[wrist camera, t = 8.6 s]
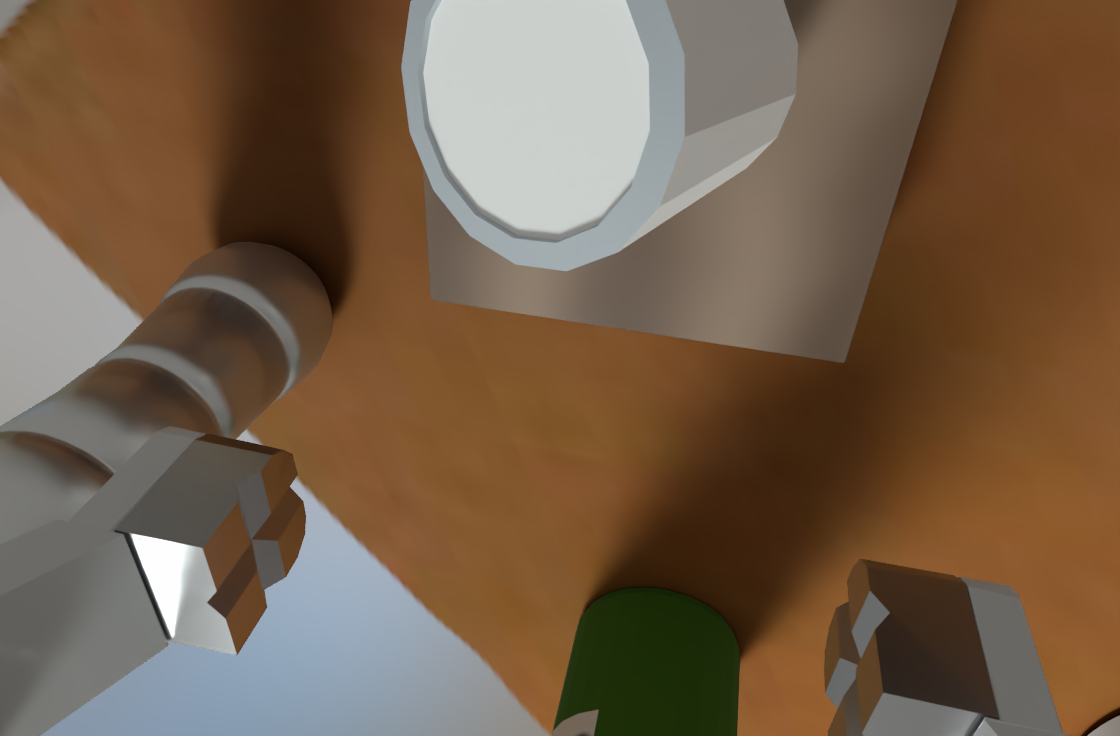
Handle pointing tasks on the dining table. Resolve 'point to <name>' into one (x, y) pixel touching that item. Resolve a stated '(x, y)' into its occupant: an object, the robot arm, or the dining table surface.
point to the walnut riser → (753, 207)
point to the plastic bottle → (169, 379)
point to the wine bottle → (650, 669)
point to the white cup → (590, 113)
